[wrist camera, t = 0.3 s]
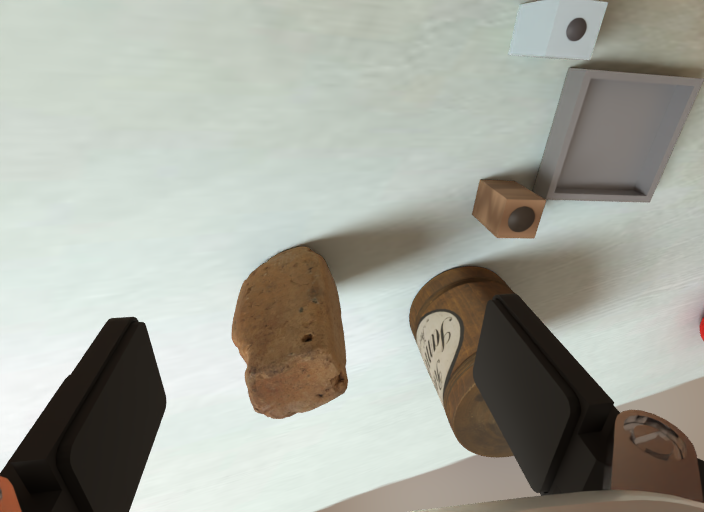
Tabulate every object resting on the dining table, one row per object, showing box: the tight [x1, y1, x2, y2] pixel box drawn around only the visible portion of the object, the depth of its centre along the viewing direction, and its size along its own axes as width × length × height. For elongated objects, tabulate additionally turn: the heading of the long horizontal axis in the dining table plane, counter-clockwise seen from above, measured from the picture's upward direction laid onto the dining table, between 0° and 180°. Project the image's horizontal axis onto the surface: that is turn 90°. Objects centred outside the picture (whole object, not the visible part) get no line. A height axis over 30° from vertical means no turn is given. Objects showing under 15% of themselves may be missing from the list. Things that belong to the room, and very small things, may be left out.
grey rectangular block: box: [508, 0, 608, 60], centre depth 38 cm, size 4×4×7 cm
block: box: [232, 246, 348, 419], centre depth 42 cm, size 11×8×20 cm
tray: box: [533, 68, 704, 202], centre depth 46 cm, size 14×14×3 cm
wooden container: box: [409, 266, 515, 457], centre depth 47 cm, size 15×15×22 cm
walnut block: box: [472, 180, 546, 238], centre depth 46 cm, size 4×4×7 cm
